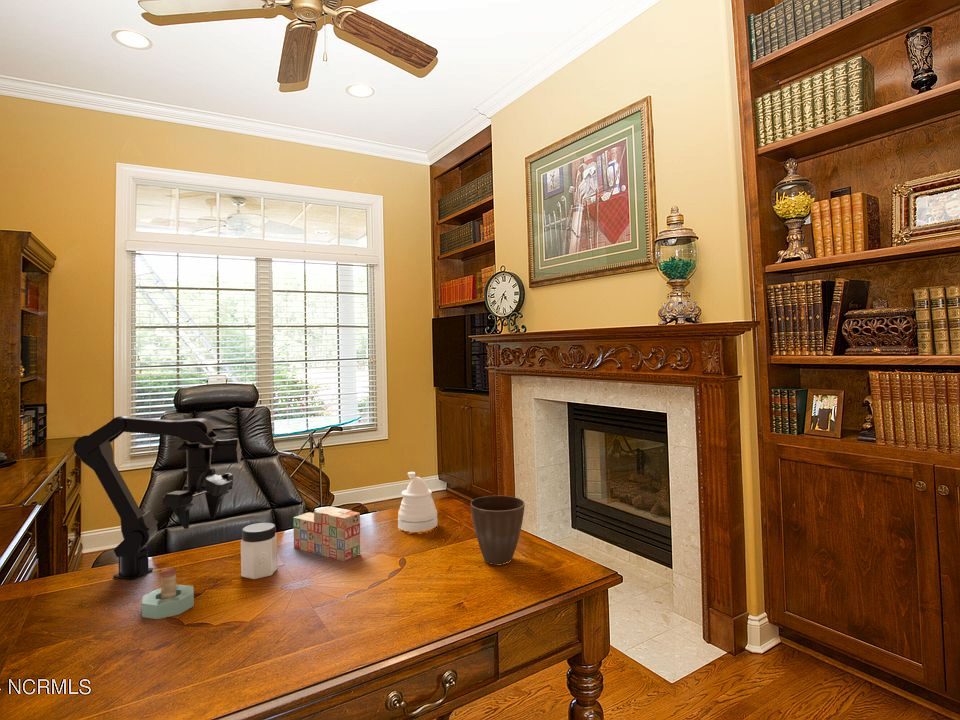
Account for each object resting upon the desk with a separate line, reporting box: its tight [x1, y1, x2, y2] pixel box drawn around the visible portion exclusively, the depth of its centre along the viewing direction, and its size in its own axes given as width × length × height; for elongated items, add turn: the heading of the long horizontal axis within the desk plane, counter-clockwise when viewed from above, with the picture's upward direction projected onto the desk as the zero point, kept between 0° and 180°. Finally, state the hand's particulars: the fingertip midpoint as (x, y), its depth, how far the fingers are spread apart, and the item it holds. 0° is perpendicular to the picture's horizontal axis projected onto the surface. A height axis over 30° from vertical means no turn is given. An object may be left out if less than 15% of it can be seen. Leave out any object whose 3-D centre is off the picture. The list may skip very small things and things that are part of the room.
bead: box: [141, 584, 195, 620], centre depth 121 cm, size 10×10×3 cm
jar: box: [240, 522, 278, 580], centre depth 141 cm, size 9×8×12 cm
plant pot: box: [470, 495, 526, 564], centre depth 147 cm, size 15×15×16 cm
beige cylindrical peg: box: [160, 567, 177, 600], centre depth 121 cm, size 3×3×8 cm
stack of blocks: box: [292, 506, 361, 562], centre depth 156 cm, size 21×6×12 cm, turn 58°
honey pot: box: [397, 471, 438, 532], centre depth 177 cm, size 13×13×18 cm
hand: (199, 523), depth 145 cm, fingers open, 9 cm apart
